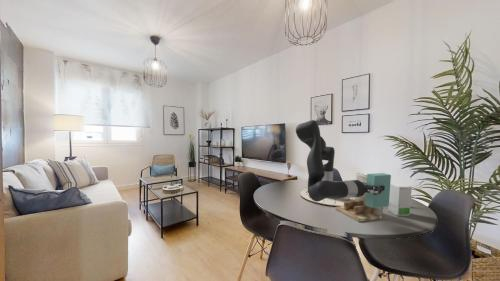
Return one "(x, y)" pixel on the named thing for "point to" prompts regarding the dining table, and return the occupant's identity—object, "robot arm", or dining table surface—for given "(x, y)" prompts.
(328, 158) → the robot arm
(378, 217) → the book rack
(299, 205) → the dining table surface
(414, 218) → the dining table surface
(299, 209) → the dining table surface
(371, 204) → the book
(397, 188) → the skincare box
